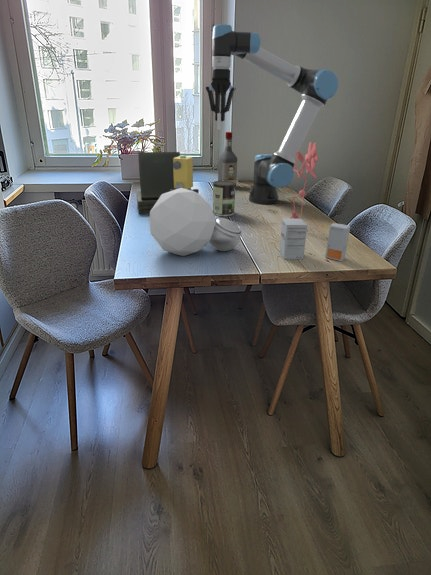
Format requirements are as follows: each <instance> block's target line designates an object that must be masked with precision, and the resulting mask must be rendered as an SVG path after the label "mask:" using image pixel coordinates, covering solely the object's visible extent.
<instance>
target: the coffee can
mask: <svg viewBox="0 0 431 575" xmlns="http://www.w3.org/2000/svg"><path fill="white" fill-rule="evenodd" d="M235 185H236V186H237V182H236V183H235V182H232V181H218V180H216V181H213V182H212V211H213V214H214V216H219V217H230V216H234V215H235V203H236V202H235V199H236V187H235Z"/></svg>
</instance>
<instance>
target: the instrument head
mask: <svg viewBox="0 0 431 575" xmlns="http://www.w3.org/2000/svg"><path fill="white" fill-rule="evenodd" d="M193 158H194V157H193V156H186V155H183V154H182V155H181V154H180V156H178V157H175V158H173V172H174V188H176V183H182V184H183V188H184V189H189V188H191V189H192V188H193V187H194V166H193V165H194V162H193V161H194V159H193Z"/></svg>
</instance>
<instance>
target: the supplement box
mask: <svg viewBox="0 0 431 575" xmlns="http://www.w3.org/2000/svg"><path fill="white" fill-rule="evenodd" d="M281 219H282V220H281V227H280V228H281V229H280V237H279V238H280V239H279V250H278V252H279V253H280V255H281V257H282V256H283V257H282V259H284V260H303V259H304V258H305V257H304V256H305V255H304V254H305V249H306V248H305V247H306V240H307V234H308V232H307V230H308V224H307V223H306V222H305V220H303V219H302V218H301V219H294V218H292V219H290V218H281Z"/></svg>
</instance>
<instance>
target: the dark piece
mask: <svg viewBox="0 0 431 575" xmlns="http://www.w3.org/2000/svg"><path fill="white" fill-rule="evenodd" d="M180 155H181V152H180V151H164V152H163V151H142V152H137V159H138V160H137V161H138V172H139V184H140V190H136V201H137V202H136V204H137V210H138V215H150V211H151V210H152V208H153V207H154V205H155V204H156V202H157V201H158V199H159V198H160V196H161V195H162V194H164V193H167V192H170V190H171V189H176V188H174V172H173V158H175V157H178V156H180Z"/></svg>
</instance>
